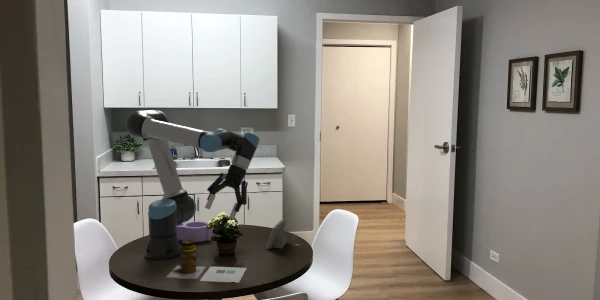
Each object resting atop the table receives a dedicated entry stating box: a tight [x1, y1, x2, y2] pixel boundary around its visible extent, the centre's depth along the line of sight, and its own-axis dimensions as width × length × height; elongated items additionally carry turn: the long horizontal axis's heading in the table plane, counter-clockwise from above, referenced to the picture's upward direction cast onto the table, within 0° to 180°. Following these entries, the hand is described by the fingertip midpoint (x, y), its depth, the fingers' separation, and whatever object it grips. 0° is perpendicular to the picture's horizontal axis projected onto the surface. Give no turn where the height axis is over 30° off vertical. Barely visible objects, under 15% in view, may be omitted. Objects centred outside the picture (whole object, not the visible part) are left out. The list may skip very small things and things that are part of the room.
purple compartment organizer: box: [177, 220, 213, 243], centre depth 230 cm, size 20×12×7 cm, turn 92°
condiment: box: [172, 240, 200, 276], centre depth 185 cm, size 7×8×12 cm
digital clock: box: [265, 219, 288, 250], centre depth 221 cm, size 16×9×11 cm, turn 155°
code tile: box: [199, 266, 248, 284], centre depth 184 cm, size 15×15×1 cm
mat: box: [165, 265, 207, 280], centre depth 185 cm, size 12×12×1 cm
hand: (219, 213), depth 198 cm, fingers open, 13 cm apart
